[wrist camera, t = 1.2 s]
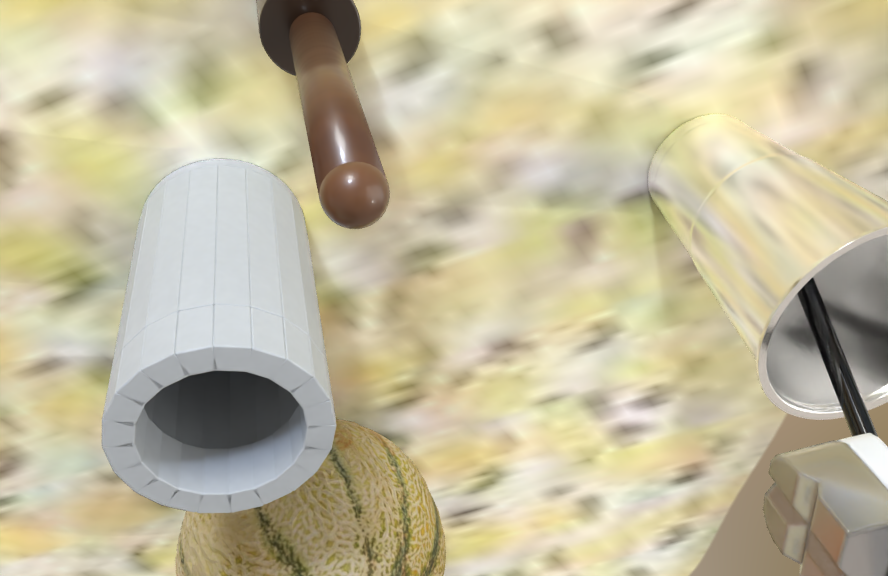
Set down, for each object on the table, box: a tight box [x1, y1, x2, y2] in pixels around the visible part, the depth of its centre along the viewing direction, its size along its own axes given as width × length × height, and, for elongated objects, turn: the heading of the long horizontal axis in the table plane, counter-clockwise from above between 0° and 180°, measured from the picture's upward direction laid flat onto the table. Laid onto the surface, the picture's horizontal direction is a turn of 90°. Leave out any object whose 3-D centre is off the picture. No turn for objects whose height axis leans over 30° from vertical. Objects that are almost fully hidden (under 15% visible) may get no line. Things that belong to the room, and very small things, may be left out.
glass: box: [648, 114, 888, 437], centre depth 34 cm, size 11×11×30 cm
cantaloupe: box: [176, 419, 446, 576], centre depth 46 cm, size 15×15×15 cm
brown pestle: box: [256, 0, 390, 229], centre depth 28 cm, size 4×4×20 cm
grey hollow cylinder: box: [102, 159, 336, 513], centre depth 36 cm, size 8×8×15 cm
